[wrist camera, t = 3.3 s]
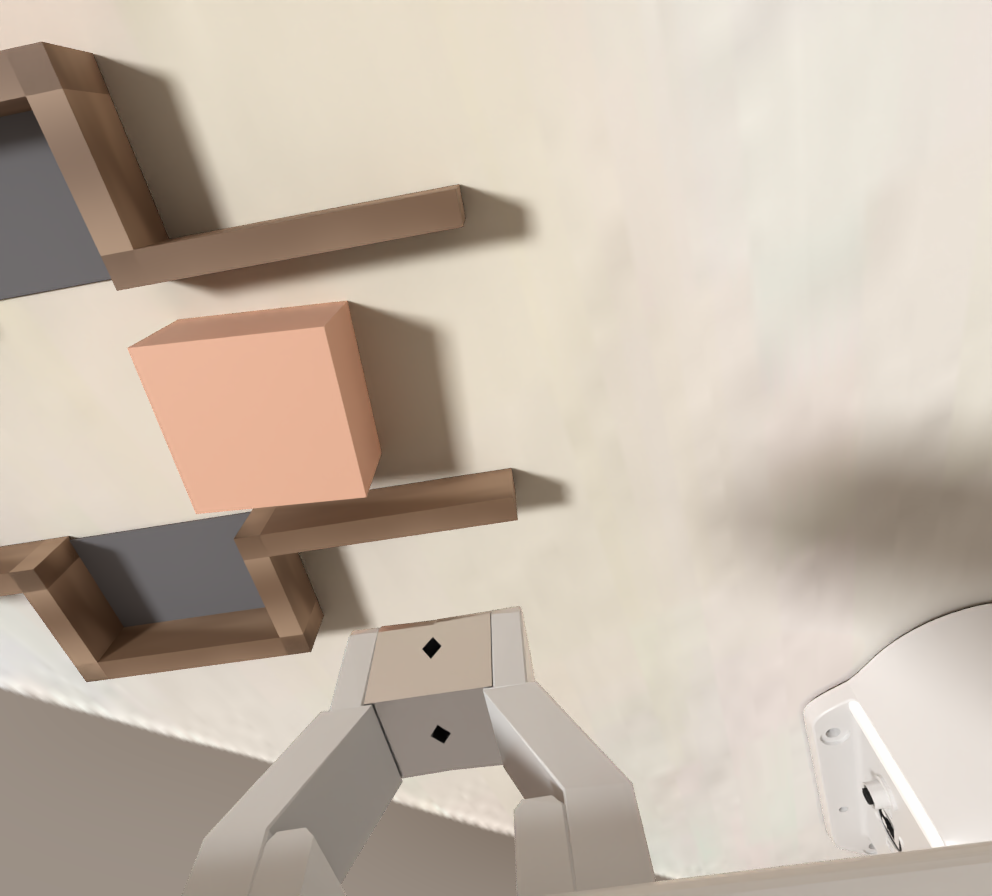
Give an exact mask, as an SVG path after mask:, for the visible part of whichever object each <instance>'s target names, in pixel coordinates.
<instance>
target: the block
mask: <svg viewBox="0 0 992 896" xmlns="http://www.w3.org/2000/svg"><path fill="white" fill-rule="evenodd" d="M128 351H129V353H130V356H131V358H132V360H133V363H134V365H135V368H136V370H137V372H138V375H139V377H140V380H141V382H142V385H143V387H144V389H145V392H146V394H147V397H148V399H149V401H150V404H151V406H152V409H153V411H154V413H155V416H156V418H157V421H158V423H159V426H160V428H161V430H162V433H163V435H164V438H165V440H166V442H167V445H168V447H169V450H170V452H171V454H172V457H173V459H174V462H175V464H176V467H177V469H178V471H179V474H180V476H181V479H182V481H183V483H184V486H185V488H186V491H187V493H188V495H189V498H190V500H191V503H192V505H193V507H194V510H195V512H196V514H201V513H211V512H221V511H231V510H242V509H252V508H262V507H273V506H283V505H293V504H303V503H314V502H324V501H334V500H344V499H355V498H365V497H367V494H368V491H369V488H370V485H371V482H372V480H373V477H374V474H375V471H376V468H377V465H378V462H379V459H380V457H381V454H382V452H381V448H380V443H379V439H378V435H377V430H376V426H375V421H374V417H373V412H372V408H371V403H370V399H369V395H368V390H367V386H366V381H365V377H364V372H363V368H362V363H361V359H360V355H359V350H358V346H357V341H356V337H355V332H354V328H353V323H352V319H351V315H350V310H349V306H348V301H340V302H331V303H322V304H313V305H304V306H295V307H286V308H277V309H268V310H259V311H250V312H241V313H232V314H223V315H214V316H205V317H196V318H187V319H178V320H176V321H175V322H173V323H171V324H169V325H168V326H166V327H164V328H162V329H160V330H159V331H157V332H155V333H153V334H152V335H150V336H148V337H146V338H145V339H143V340H141V341H139V342H137V343H136V344H134V345H132V346H130V347H129V348H128Z"/></svg>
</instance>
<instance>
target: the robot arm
mask: <svg viewBox="0 0 992 896" xmlns="http://www.w3.org/2000/svg"><path fill="white" fill-rule="evenodd" d="M803 717H804V722H805V727H806V732H807V737H808V742H809V747H810V752H811V757H812V762H813V767H814V772H815V777H816V782H817V787H818V792H819V797H820V802H821V807H822V812H823V817H824V822H825V826H826V831H827V833H828V835H829V837H830V838H831V840H832V841H833V843H834V845H835V846H836V847H837V848H839V849H842V850H845V851H849V852H854V853H860V854H867V855H869V856H861V857H852V858H844V859H836V860H828V861H820V862H812V863H803V864H795V865H787V866H779V867H771V868H763V869H754V870H746V871H738V872H730V873H722V874H714V875H705V876H697V877H689V878H681V879H673V880H665V881H656V879H655V875H654V871H653V866H652V862H651V858H650V854H649V850H648V846H647V842H646V838H645V833H644V829H643V825H642V821H641V817H640V813H639V809H638V805H637V800H636V796H635V792H634V788H633V784H632V782H631V781H630V780H629V779H628V778H627V777H626V776H625V775H624V774H623V773H622V771H621V770H620V769H619V768H618V767H617V766H616V765H615V764H614V763H613V762H612V761H611V760H610V759H609V758H608V757H607V756H606V755H605V753H604V752H603V751H602V750H601V749H600V748H599V747H598V746H597V745H596V744H595V743H594V742H593V741H592V740H591V739H590V738H589V736H588V735H587V734H586V733H585V732H584V731H583V730H582V729H581V728H580V727H579V726H578V725H577V724H576V723H575V722H574V721H573V720H572V718H571V717H570V716H569V715H568V714H567V713H566V712H565V711H564V710H563V709H562V708H561V707H560V706H559V705H558V704H557V703H556V701H555V700H554V699H553V698H552V697H551V696H550V695H549V694H548V693H547V692H546V691H545V690H544V689H543V688H542V687H541V686H540V685H539V683H538V682H537V681H536V682H535V677H534V671H533V665H532V659H531V653H530V648H529V643H528V638H527V633H526V628H525V623H524V617H523V612H522V609H521V607H520V606H516V607H510V608H504V609H497V610H492V611H487V612H480V613H474V614H468V615H461V616H455V617H449V618H442V619H437V620H430V621H422V622H414V623H406V624H398V625H390V626H382V627H380V628H371V629H363V630H354V631H353V632H352V633H351V635H350V636H349V638H348V641H347V645H346V649H345V652H344V656H343V660H342V664H341V668H340V672H339V675H338V679H337V683H336V687H335V691H334V695H333V698H332V702H331V706H330V710H329V711H324V712H320V713H319V714H318V715H317V717H316V718H315V719H314V720H313V721H312V722H311V723H310V724H309V725H308V726H307V727H306V728H305V730H304V731H303V732H302V733H301V734H300V735H299V736H298V737H297V738H296V739H295V740H294V741H293V742H292V744H291V745H290V746H289V747H288V748H287V749H286V750H285V751H284V752H283V753H282V754H281V755H280V757H279V758H278V759H277V760H276V761H275V762H274V763H273V764H272V765H271V766H270V767H269V769H268V770H267V771H266V772H265V773H264V774H263V775H262V776H261V777H260V778H259V779H258V780H257V781H256V782H255V784H254V785H253V786H252V787H251V788H250V789H249V790H248V791H247V792H246V793H245V794H244V795H243V797H242V798H241V799H240V800H239V801H238V802H237V803H236V804H235V805H234V806H233V807H232V808H231V809H230V811H229V812H228V813H227V814H226V815H225V816H224V817H223V818H222V819H221V820H220V821H219V822H218V824H217V825H216V826H215V827H214V828H213V829H212V830H211V831H210V832H209V833H208V834H207V835H206V837H205V838H204V840H203V842H202V845H201V847H200V850H199V852H198V855H197V857H196V860H195V863H194V865H193V868H192V870H191V873H190V876H189V878H188V880H187V883H186V885H185V888H184V890H183V893H182V896H347V895H346V894H345V892H344V890H343V888H342V886H341V884H342V882H343V880H344V879H345V877H346V875H347V874H348V872H349V870H350V868H351V867H352V865H353V864H354V862H355V860H356V859H357V857H358V855H359V854H360V852H361V850H362V849H363V847H364V845H365V843H366V842H367V840H368V838H369V837H370V835H371V833H372V832H373V830H374V828H375V827H376V825H377V823H378V822H379V820H380V818H381V817H382V815H383V813H384V812H385V810H386V808H387V807H388V805H389V803H390V802H391V800H392V798H393V797H394V795H395V793H396V792H397V790H398V788H399V787H400V785H401V783H402V779H401V778H407V777H413V776H419V775H425V774H431V773H437V772H443V771H449V770H457V769H467V768H476V767H486V766H495V765H503V767H504V769H505V770H506V772H507V773H508V775H509V776H510V778H511V779H512V781H513V782H514V784H515V785H516V787H517V788H518V790H519V791H520V793H521V794H522V796H523V797H524V799H523V800H521V801H520V803H519V804H518V805H517V807H516V808H515V809H514V831H515V856H516V881H517V896H992V603H991V604H985V605H980V606H975V607H971V608H967V609H964V610H960V611H957V612H954V613H951V614H948V615H945V616H943V617H940V618H938V619H935V620H933V621H931V622H928V623H926V624H924V625H922V626H920V627H918V628H916V629H914V630H912V631H911V632H909V633H907V634H905V635H904V636H902V637H901V638H899V639H897V640H896V641H894V642H893V643H892V644H890V645H889V646H887V647H886V648H885V649H883V650H882V651H881V652H880V653H879V654H877V655H876V656H875V657H874V658H873V659H872V660H871V661H870V662H869V663H868V664H867V665H866V666H864V667H863V668H862V669H861V670H860V671H859V672H858V673H857V674H856V675H855V676H854V677H852V678H851V679H850V680H848V681H847V682H845V683H843V684H841V685H839V686H837V687H835V688H833V689H831V690H829V691H827V692H825V693H824V694H822V695H820V696H818V697H817V698H815V699H814V700H812V701H811V702H810V703H809V704H808V705H807V706H806V707H805V709H804V712H803Z"/></svg>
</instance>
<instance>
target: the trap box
mask: <svg viewBox="0 0 992 896" xmlns="http://www.w3.org/2000/svg"><path fill="white" fill-rule="evenodd" d="M465 219H466V218H465V212H464V207H463V201H462V196H461V190H460V185H459V184H458V185H453V186H447V187H442V188H437V189H432V190H426V191H421V192H416V193H410V194H405V195H400V196H395V197H389V198H384V199H379V200H374V201H368V202H363V203H358V204H352V205H347V206H342V207H337V208H331V209H326V210H321V211H315V212H310V213H305V214H300V215H294V216H289V217H284V218H279V219H273V220H268V221H263V222H257V223H252V224H247V225H242V226H236V227H231V228H226V229H221V230H215V231H210V232H205V233H199V234H194V235H189V236H184V237H178V238H173V239H169V238H168V236H167V233H166V231H165V228H164V226H163V223H162V221H161V219H160V216H159V214H158V211H157V209H156V206H155V204H154V202H153V199H152V197H151V194H150V192H149V189H148V187H147V185H146V182H145V180H144V177H143V175H142V172H141V170H140V167H139V165H138V163H137V160H136V158H135V155H134V153H133V150H132V148H131V146H130V143H129V141H128V138H127V136H126V133H125V131H124V129H123V126H122V124H121V121H120V119H119V116H118V114H117V112H116V109H115V107H114V104H113V102H112V99H111V97H110V95H109V92H108V90H107V87H106V85H105V82H104V80H103V78H102V75H101V73H100V70H99V68H98V65H97V63H96V60H95V58H94V56H93V53H89V52H84V51H80V50H76V49H71V48H67V47H62V46H58V45H54V44H49V43H45V42H38V43H34V44H29V45H25V46H20V47H15V48H11V49H6V50H2V51H0V300H1V299H6V298H11V297H17V296H22V295H27V294H33V293H38V292H44V291H49V290H54V289H60V288H65V287H70V286H76V285H81V284H87V283H92V282H97V281H103V280H108V279H112V281H113V283H114V285H115V287H116V290H117V291H118V290H123V289H129V288H134V287H140V286H145V285H151V284H156V283H161V282H167V281H172V280H178V279H183V278H189V277H194V276H199V275H205V274H210V273H216V272H221V271H227V270H232V269H237V268H243V267H248V266H254V265H259V264H264V263H270V262H275V261H281V260H286V259H292V258H297V257H302V256H308V255H313V254H319V253H324V252H330V251H335V250H340V249H346V248H351V247H357V246H362V245H368V244H373V243H378V242H384V241H389V240H395V239H400V238H406V237H411V236H416V235H422V234H427V233H433V232H438V231H444V230H449V229H454V228H460V227H463V225H464V222H465ZM514 520H518V518H517V505H516V492H515V485H514V480H513V474H512V469H511V468H509V469H502V470H496V471H489V472H483V473H476V474H470V475H463V476H457V477H450V478H444V479H437V480H431V481H424V482H418V483H411V484H405V485H398V486H392V487H385V488H379V489H372V490H369V491H368V494H367V497H365V498H355V499H344V500H334V501H324V502H314V503H303V504H293V505H283V506H273V507H262V508H253V510H252V511H251V512H247V513H240V514H234V515H227V516H221V517H214V518H208V519H201V520H195V521H188V522H181V523H175V524H168V525H162V526H155V527H149V528H142V529H136V530H129V531H123V532H116V533H110V534H103V535H97V536H90V537H84V538H77V539H70V538H69V536H67V537H60V538H54V539H47V540H41V541H34V542H28V543H21V544H15V545H8V546H2V547H0V596H6V595H13V594H20V593H23V594H24V595H25V597H26V598H27V599H28V601H29V602H30V604H31V605H32V606H33V608H34V609H35V611H36V612H37V613H38V615H39V616H40V618H41V619H42V620H43V622H44V623H45V625H46V626H47V627H48V629H49V630H50V632H51V633H52V634H53V636H54V637H55V639H56V640H57V641H58V643H59V644H60V646H61V647H62V648H63V650H64V651H65V653H66V654H67V655H68V657H69V658H70V660H71V661H72V662H73V664H74V665H75V667H76V668H77V669H78V671H79V672H80V674H81V675H82V676H83V678H84V679H85V681H86V682H91V681H99V680H106V679H114V678H121V677H128V676H136V675H143V674H151V673H158V672H165V671H173V670H180V669H188V668H195V667H202V666H210V665H217V664H225V663H232V662H240V661H247V660H254V659H262V658H269V657H277V656H284V655H291V654H299V653H306V652H311V651H312V648H313V645H314V642H315V639H316V636H317V634H318V631H319V628H320V625H321V622H322V619H323V616H324V615H323V613H322V610H321V608H320V605H319V603H318V600H317V598H316V596H315V593H314V591H313V588H312V586H311V583H310V581H309V579H308V576H307V574H306V571H305V569H304V566H303V564H302V561H301V559H300V557H299V554H298V552H304V551H311V550H318V549H325V548H331V547H338V546H345V545H352V544H358V543H365V542H372V541H379V540H386V539H392V538H399V537H406V536H413V535H419V534H426V533H433V532H440V531H447V530H453V529H460V528H467V527H474V526H480V525H487V524H494V523H501V522H508V521H514Z"/></svg>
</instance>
